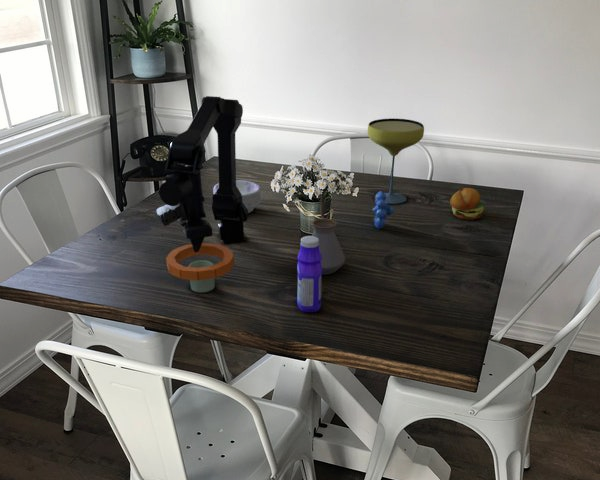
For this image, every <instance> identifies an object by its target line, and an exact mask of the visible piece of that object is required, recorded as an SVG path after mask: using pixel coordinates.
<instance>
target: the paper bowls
mask: <svg viewBox="0 0 600 480" xmlns="http://www.w3.org/2000/svg"><path fill="white" fill-rule="evenodd" d="M236 186H237V188H238V190H239V191H240V193H241V194H242V202H243V204H244V205H245V207H246V208H247V210H248V214H249V213H251V212H253V211H254V209H255V207H258V206H259V205H261V202H262V200H261V199H262V195H261V194H262V192H261V191H262V189H261V186H260V185H259V184H258V183H256V182H253V181H249V180H238V179H236ZM218 188H219V182H218V183H216V184H215V185H214V186H213V189H212V193H213V194H215V193H216V191H217V189H218ZM213 194H212V195H213Z"/></svg>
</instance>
